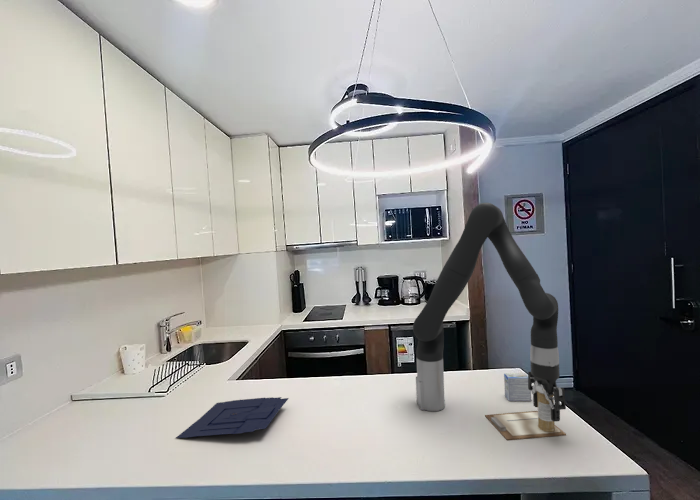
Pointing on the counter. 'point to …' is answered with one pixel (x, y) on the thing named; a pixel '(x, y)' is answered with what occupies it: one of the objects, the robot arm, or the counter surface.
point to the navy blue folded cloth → (236, 417)
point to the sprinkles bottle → (544, 411)
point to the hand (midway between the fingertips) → (546, 413)
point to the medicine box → (517, 387)
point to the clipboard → (520, 425)
